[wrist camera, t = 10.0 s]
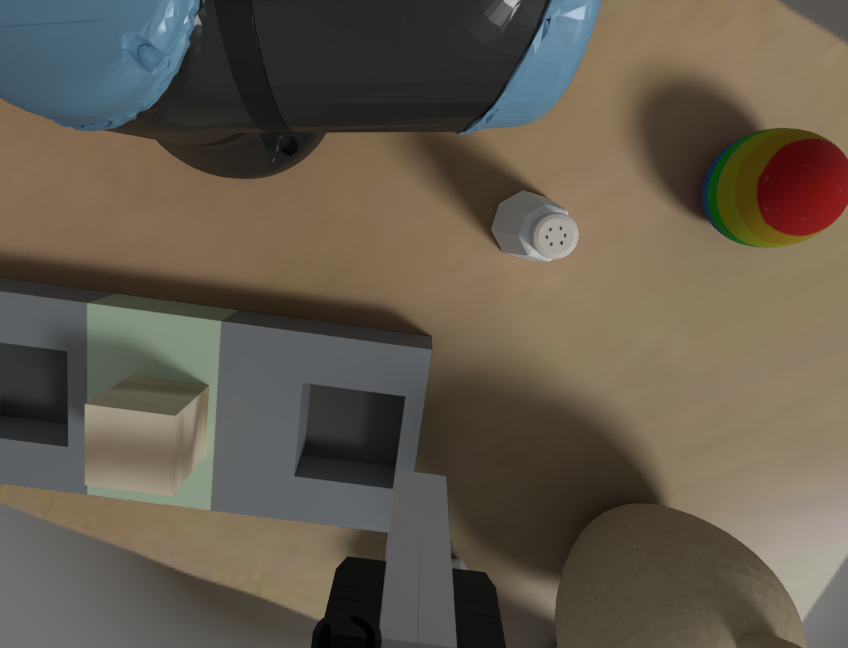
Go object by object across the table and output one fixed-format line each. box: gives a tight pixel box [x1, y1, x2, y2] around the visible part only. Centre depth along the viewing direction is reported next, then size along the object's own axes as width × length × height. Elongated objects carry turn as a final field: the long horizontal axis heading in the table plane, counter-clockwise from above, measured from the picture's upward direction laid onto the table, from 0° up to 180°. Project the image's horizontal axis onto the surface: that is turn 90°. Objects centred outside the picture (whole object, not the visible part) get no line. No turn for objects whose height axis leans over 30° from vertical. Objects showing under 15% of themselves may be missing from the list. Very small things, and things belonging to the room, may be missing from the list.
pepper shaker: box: [491, 190, 579, 262], centre depth 39 cm, size 5×5×11 cm
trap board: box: [0, 278, 432, 533], centre depth 46 cm, size 16×37×4 cm, turn 82°
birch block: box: [85, 375, 209, 496], centre depth 41 cm, size 6×6×6 cm
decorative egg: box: [702, 128, 848, 248], centre depth 38 cm, size 8×8×10 cm
